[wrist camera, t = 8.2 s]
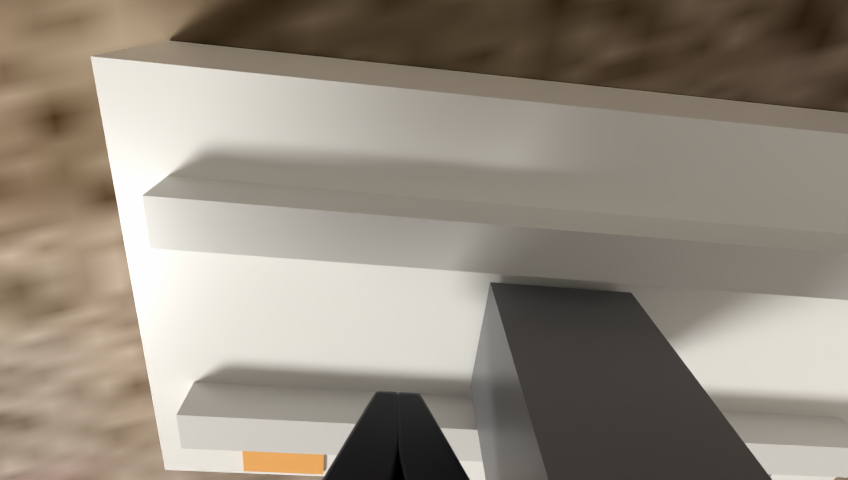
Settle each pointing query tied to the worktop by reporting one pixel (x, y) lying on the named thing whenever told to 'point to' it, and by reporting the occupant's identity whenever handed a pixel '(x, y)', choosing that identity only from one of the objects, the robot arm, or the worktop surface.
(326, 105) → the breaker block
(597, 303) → the switch knob
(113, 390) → the worktop surface
